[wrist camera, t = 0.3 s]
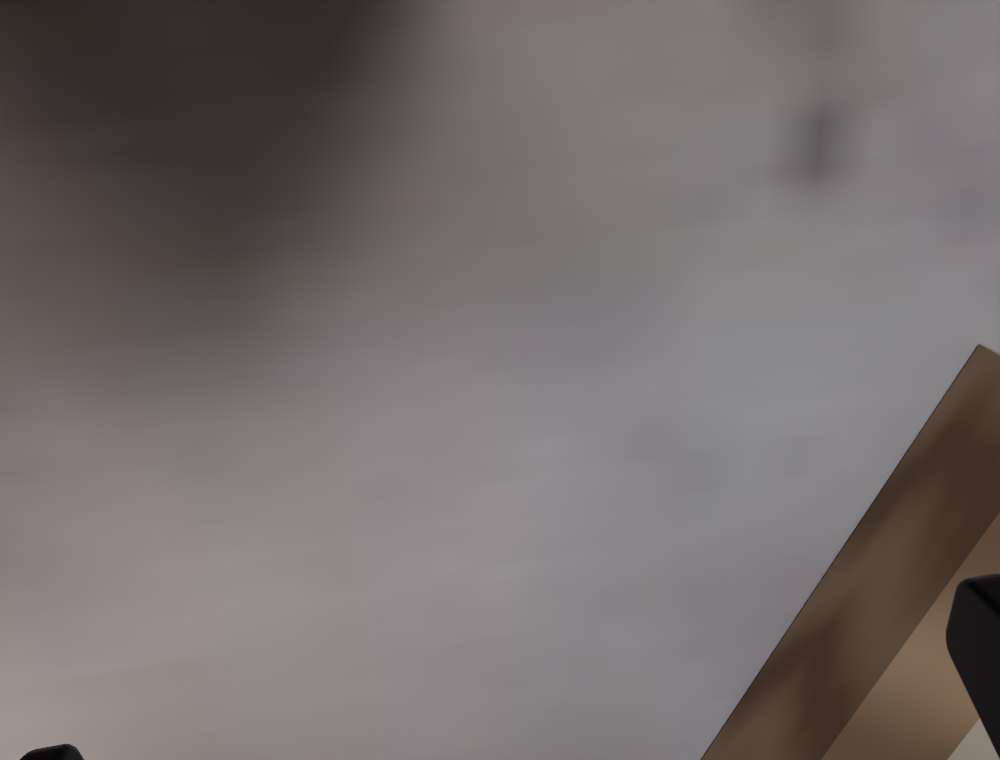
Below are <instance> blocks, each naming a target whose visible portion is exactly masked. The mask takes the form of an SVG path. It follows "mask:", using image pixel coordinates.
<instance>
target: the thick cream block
mask: <svg viewBox="0 0 1000 760" xmlns="http://www.w3.org/2000/svg"><path fill="white" fill-rule="evenodd" d="M948 760H1000V759H999V757H998V755H997V753H996V751H995V749H994V747H993V745H992V742H991V740H990V738H989V736H988V734H987V732H986V730H985V728H984V726H983V724H982V722H981V720H980V718H979V720H978V721H977V722H976V723H975V725H974V726H973V727H972V729H971V730H970V731H969V733H968V734H967V735H966V736H965V738H964V739H963V740H962V742H961V743H960V744H959V745H958V747H957V748H956V749H955V751H954V752H953V753H952V754H951V756H950V757H949V758H948Z"/></svg>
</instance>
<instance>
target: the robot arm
mask: <svg viewBox="0 0 1000 760" xmlns="http://www.w3.org/2000/svg"><path fill="white" fill-rule="evenodd" d="M945 636H946V645H947V649H948V652H949V655H950V657H951V659H952V661H953V663H954V666H955V668H956V670H957V672H958V674H959V676H960V678H961V680H962V682H963V684H964V686H965V688H966V690H967V693H968V695H969V697H970V699H971V701H972V703H973V705H974V707H975V709H976V711H977V713H978V715H979V717H980V720H981V722H982V724H983V726H984V728H985V730H986V732H987V734H988V736H989V738H990V740H991V742H992V745H993V747H994V749H995V751H996V753H997V755H998V757H999V759H1000V574H987V575H982V576H976V577H971V578H966V579H963V580H962V581H961V582H960V583H959V584H958V585H957V587H956V590H955V594H954V598H953V603H952V607H951V611H950V615H949V619H948V623H947V627H946V634H945ZM20 760H84V759H83V757H82V756H81V754H80V752H79V751H78V750H77V748H76V747H74V746H72V745H70V744H62V745H56V746H51V747H45V748H40V749H35V750H32V751H30V752H28V753H27V754H26V755H24V756H23V757H22V758H21V759H20Z"/></svg>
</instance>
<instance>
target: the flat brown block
mask: <svg viewBox="0 0 1000 760" xmlns="http://www.w3.org/2000/svg"><path fill="white" fill-rule="evenodd" d="M987 574H1000V354H999V353H997V352H994V351H992V350H990V349H988V348H986V347H984V346H982V345H980V344H979V345H978V347H977V348H976V350H975V351H974V353H973V354H972V356H971V357H970V359H969V360H968V362H967V363H966V365H965V366H964V368H963V369H962V371H961V372H960V374H959V375H958V377H957V378H956V380H955V381H954V383H953V384H952V386H951V387H950V389H949V390H948V392H947V393H946V395H945V396H944V398H943V399H942V401H941V402H940V404H939V405H938V407H937V408H936V410H935V411H934V413H933V414H932V416H931V417H930V419H929V420H928V422H927V423H926V425H925V426H924V428H923V429H922V431H921V432H920V434H919V435H918V437H917V438H916V440H915V441H914V443H913V444H912V446H911V447H910V449H909V450H908V452H907V453H906V455H905V456H904V458H903V459H902V461H901V462H900V464H899V465H898V467H897V468H896V470H895V471H894V473H893V474H892V476H891V477H890V479H889V480H888V482H887V483H886V485H885V486H884V487H883V489H882V490H881V492H880V493H879V495H878V496H877V498H876V499H875V501H874V502H873V504H872V505H871V507H870V508H869V510H868V511H867V513H866V514H865V516H864V517H863V519H862V520H861V522H860V523H859V525H858V526H857V528H856V529H855V531H854V532H853V534H852V535H851V537H850V538H849V540H848V541H847V543H846V544H845V546H844V547H843V549H842V550H841V552H840V553H839V555H838V556H837V558H836V559H835V561H834V562H833V564H832V565H831V567H830V568H829V570H828V571H827V573H826V574H825V576H824V577H823V579H822V580H821V582H820V583H819V585H818V586H817V588H816V589H815V591H814V592H813V594H812V595H811V597H810V598H809V600H808V601H807V603H806V604H805V606H804V607H803V609H802V610H801V612H800V613H799V615H798V616H797V618H796V619H795V621H794V622H793V624H792V625H791V627H790V628H789V630H788V631H787V633H786V634H785V636H784V637H783V639H782V640H781V642H780V643H779V644H778V646H777V647H776V649H775V650H774V652H773V653H772V655H771V656H770V658H769V659H768V661H767V662H766V664H765V665H764V667H763V668H762V670H761V671H760V673H759V674H758V676H757V677H756V679H755V680H754V682H753V683H752V685H751V686H750V688H749V689H748V691H747V692H746V694H745V695H744V697H743V698H742V700H741V701H740V703H739V704H738V706H737V707H736V709H735V710H734V712H733V713H732V715H731V716H730V718H729V719H728V721H727V722H726V724H725V725H724V727H723V728H722V730H721V731H720V733H719V734H718V736H717V737H716V739H715V740H714V742H713V743H712V745H711V746H710V748H709V749H708V751H707V752H706V754H705V755H704V757H703V758H702V760H948V758H949V757H950V756H951V754H952V753H953V752H954V751H955V749H956V748H957V747H958V745H959V744H960V743H961V742H962V740H963V739H964V738H965V736H966V735H967V734H968V733H969V731H970V730H971V729H972V727H973V726H974V725H975V723H976V722H977V721H978V720H979V718H980V717H979V715H978V713H977V711H976V709H975V707H974V705H973V703H972V701H971V699H970V697H969V695H968V693H967V690H966V688H965V686H964V684H963V682H962V680H961V678H960V676H959V674H958V672H957V670H956V668H955V666H954V663H953V661H952V659H951V657H950V655H949V652H948V649H947V645H946V636H945V634H946V627H947V623H948V619H949V615H950V611H951V607H952V603H953V598H954V594H955V590H956V587H957V585H958V584H959V583H960V582H961V581H962V580H963V579H966V578H971V577H976V576H982V575H987Z"/></svg>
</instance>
